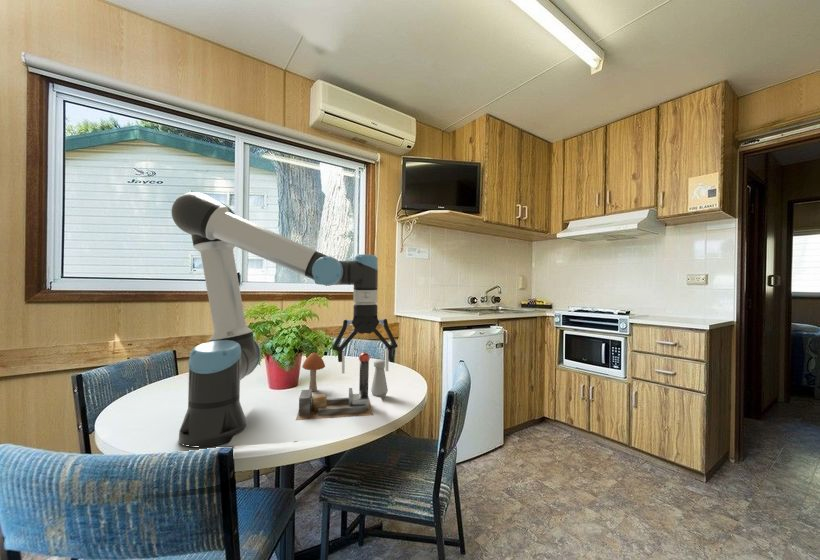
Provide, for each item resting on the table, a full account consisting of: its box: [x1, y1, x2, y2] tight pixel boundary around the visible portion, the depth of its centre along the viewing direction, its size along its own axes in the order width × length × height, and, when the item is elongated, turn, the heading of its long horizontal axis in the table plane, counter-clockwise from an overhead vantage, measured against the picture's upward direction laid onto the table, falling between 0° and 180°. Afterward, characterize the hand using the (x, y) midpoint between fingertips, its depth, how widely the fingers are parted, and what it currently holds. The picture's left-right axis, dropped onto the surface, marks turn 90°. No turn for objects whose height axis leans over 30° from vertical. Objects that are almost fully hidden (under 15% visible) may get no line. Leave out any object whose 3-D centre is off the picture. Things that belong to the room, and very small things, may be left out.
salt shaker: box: [370, 359, 389, 399], centre depth 119 cm, size 6×6×13 cm
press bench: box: [295, 389, 375, 421], centre depth 104 cm, size 22×14×6 cm, turn 102°
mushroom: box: [301, 351, 326, 393], centre depth 121 cm, size 8×8×15 cm
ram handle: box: [348, 351, 371, 409], centre depth 106 cm, size 6×6×17 cm
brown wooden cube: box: [312, 393, 328, 412], centre depth 103 cm, size 4×4×4 cm
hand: (365, 371), depth 106 cm, fingers open, 13 cm apart
